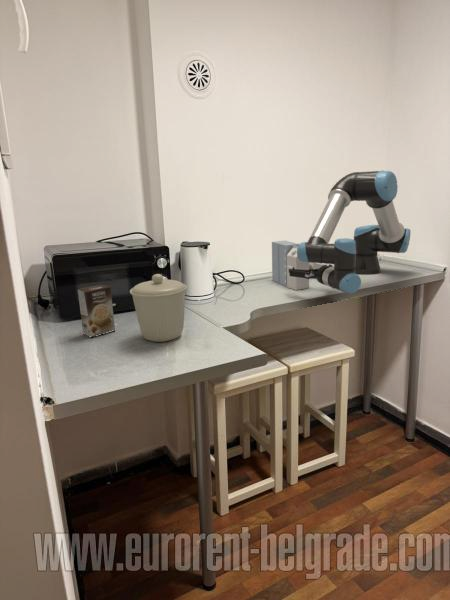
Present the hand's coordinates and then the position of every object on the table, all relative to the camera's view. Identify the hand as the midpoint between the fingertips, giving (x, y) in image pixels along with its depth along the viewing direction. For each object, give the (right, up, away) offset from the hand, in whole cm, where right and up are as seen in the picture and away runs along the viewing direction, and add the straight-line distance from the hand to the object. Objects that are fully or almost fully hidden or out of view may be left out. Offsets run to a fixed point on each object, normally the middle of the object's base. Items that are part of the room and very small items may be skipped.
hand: (301, 267), depth 189 cm
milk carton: (0, -9, +7) cm, 11 cm away
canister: (-54, -27, -46) cm, 76 cm away
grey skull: (+12, -3, +26) cm, 29 cm away
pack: (-4, -6, +17) cm, 18 cm away
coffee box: (-77, -26, -40) cm, 90 cm away
